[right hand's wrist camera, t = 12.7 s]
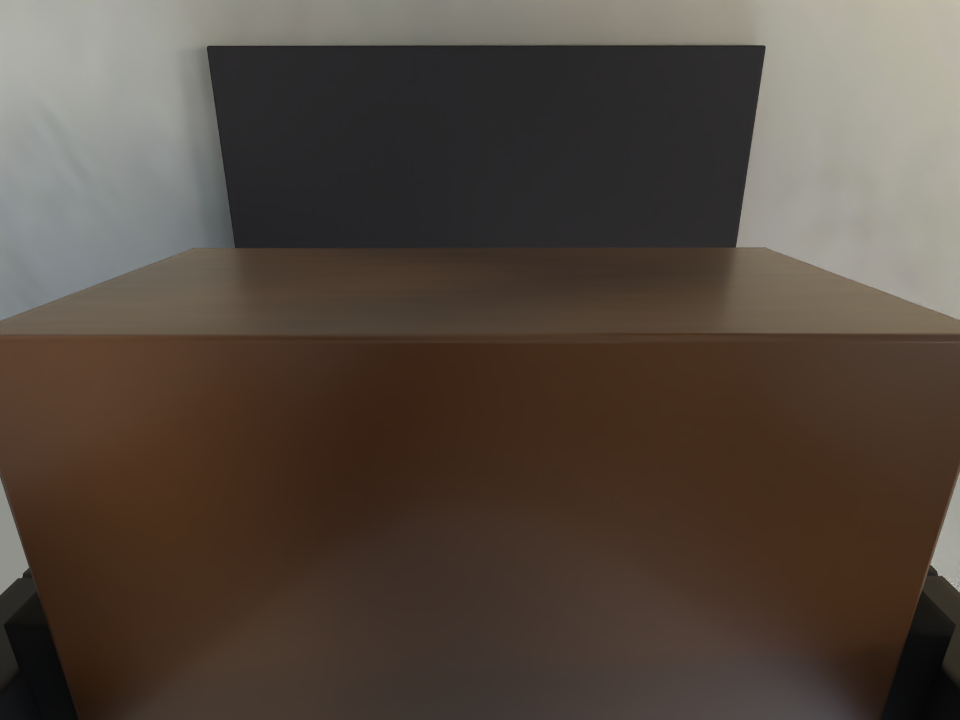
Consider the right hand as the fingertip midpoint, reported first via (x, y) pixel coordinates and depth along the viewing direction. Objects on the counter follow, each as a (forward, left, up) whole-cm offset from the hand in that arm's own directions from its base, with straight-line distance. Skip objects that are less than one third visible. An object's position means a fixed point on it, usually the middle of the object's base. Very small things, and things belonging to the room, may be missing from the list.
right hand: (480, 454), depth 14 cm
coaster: (0, 0, -12) cm, 12 cm away
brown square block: (0, 0, +2) cm, 2 cm away
